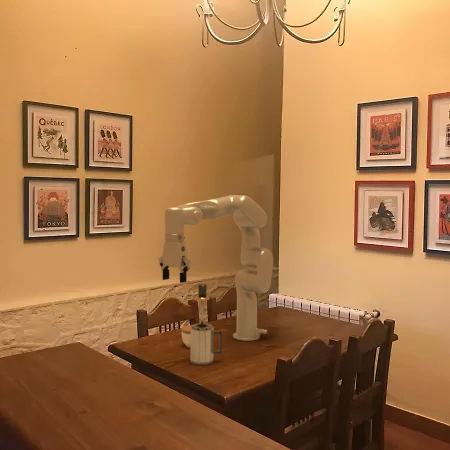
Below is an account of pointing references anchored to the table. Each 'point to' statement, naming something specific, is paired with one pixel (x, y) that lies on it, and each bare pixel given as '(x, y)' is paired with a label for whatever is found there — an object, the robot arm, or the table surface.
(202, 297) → the plunger
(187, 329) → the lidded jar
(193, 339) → the cafetiere
